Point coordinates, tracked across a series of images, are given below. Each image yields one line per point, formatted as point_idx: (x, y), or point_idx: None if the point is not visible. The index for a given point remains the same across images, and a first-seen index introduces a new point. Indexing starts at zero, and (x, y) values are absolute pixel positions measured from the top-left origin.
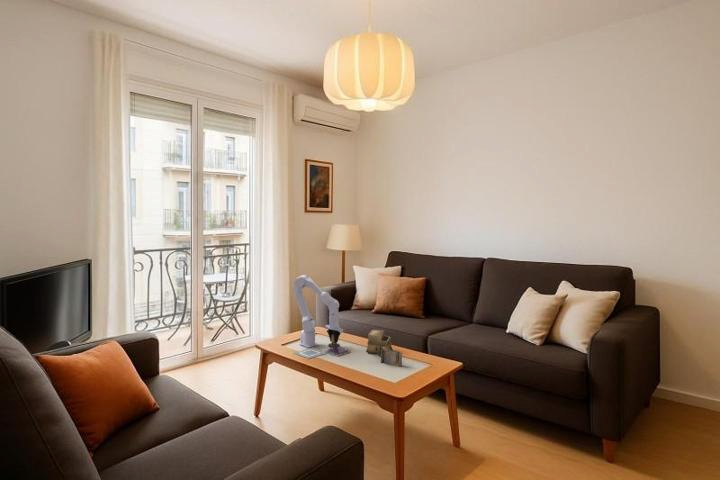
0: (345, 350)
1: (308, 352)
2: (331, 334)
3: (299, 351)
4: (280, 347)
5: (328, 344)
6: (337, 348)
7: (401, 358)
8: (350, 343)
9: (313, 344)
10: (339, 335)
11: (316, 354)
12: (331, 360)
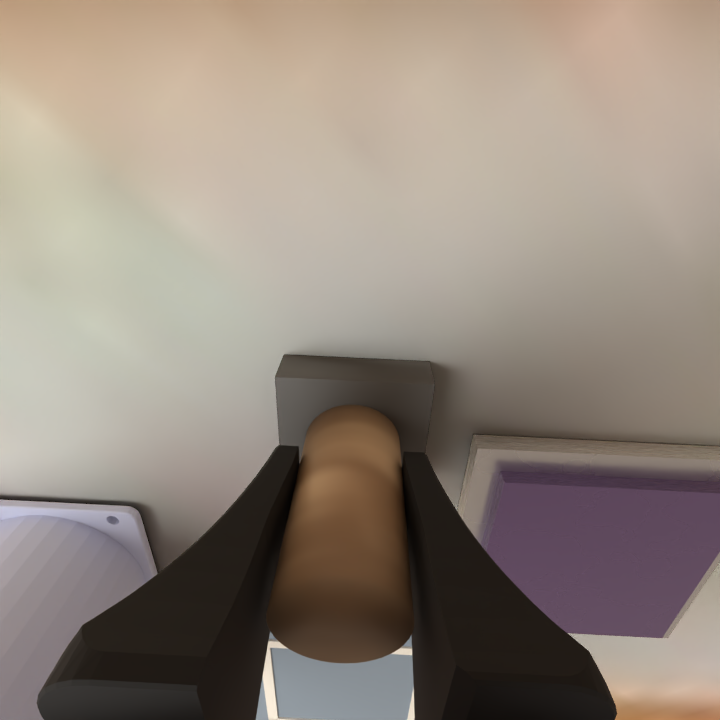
0: (717, 529)
1: (318, 685)
2: (287, 647)
3: None
4: None
5: None
6: (548, 535)
7: None
8: (489, 41)
9: (137, 579)
10: (498, 568)
11: None
12: (655, 686)
